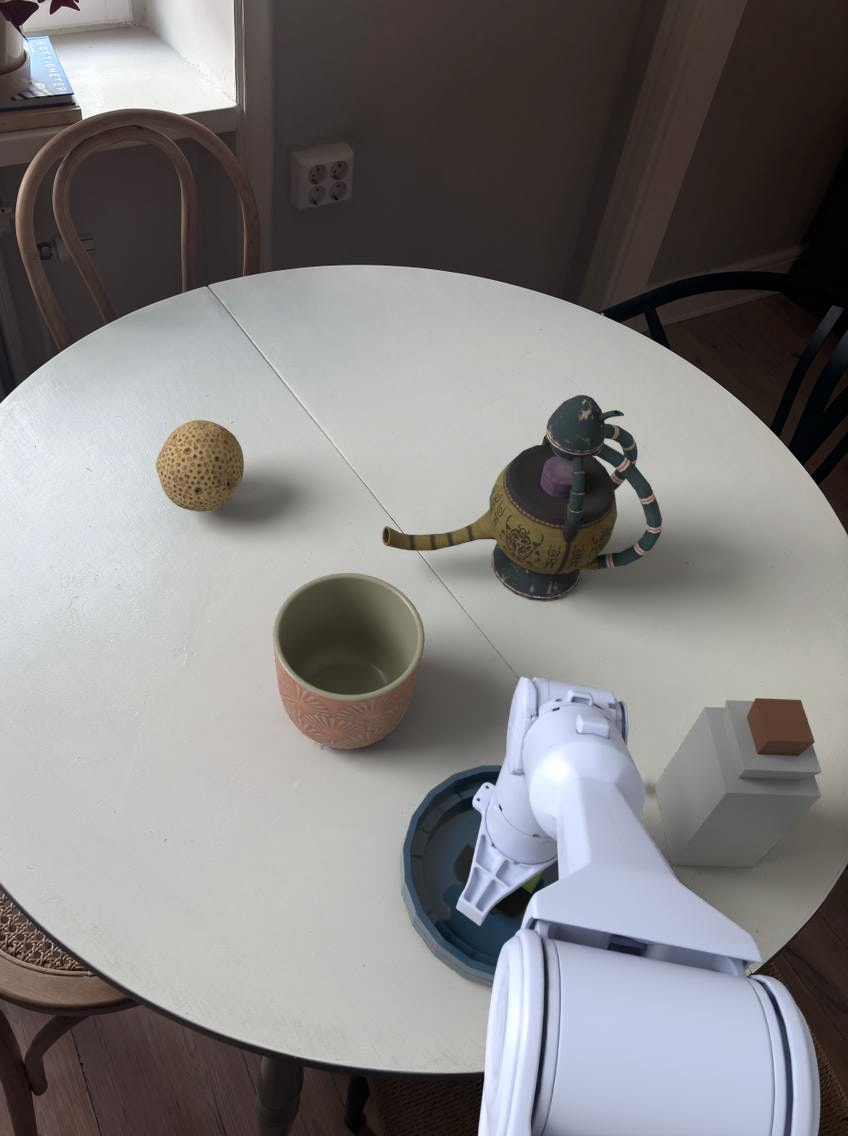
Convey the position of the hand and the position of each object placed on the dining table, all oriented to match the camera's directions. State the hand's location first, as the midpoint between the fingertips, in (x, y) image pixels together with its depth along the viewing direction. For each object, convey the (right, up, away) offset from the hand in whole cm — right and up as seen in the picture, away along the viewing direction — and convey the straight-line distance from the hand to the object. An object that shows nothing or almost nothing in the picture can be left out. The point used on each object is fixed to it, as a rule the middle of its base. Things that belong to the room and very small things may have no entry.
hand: (505, 871), depth 73 cm
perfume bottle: (+17, +2, +5) cm, 18 cm away
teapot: (+3, +22, +23) cm, 32 cm away
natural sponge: (-28, +29, +27) cm, 48 cm away
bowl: (0, -1, +1) cm, 2 cm away
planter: (-13, +11, +12) cm, 20 cm away
